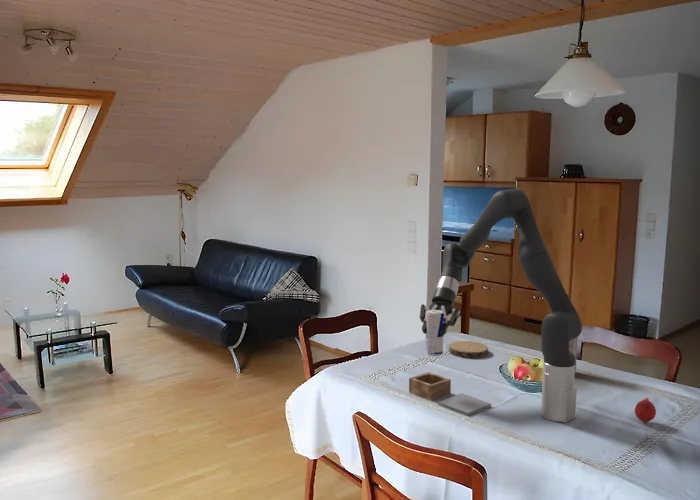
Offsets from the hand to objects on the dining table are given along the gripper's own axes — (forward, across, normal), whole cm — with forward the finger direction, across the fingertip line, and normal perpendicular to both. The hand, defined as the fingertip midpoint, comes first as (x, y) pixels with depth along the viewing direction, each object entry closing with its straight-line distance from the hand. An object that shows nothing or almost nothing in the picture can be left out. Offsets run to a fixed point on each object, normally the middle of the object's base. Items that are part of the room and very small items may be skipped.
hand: (432, 333), depth 203 cm
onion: (+8, +64, +24) cm, 69 cm away
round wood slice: (-23, -5, +54) cm, 59 cm away
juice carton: (-18, +35, +49) cm, 63 cm away
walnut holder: (+14, -2, +17) cm, 22 cm away
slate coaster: (+17, +12, +13) cm, 25 cm away
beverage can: (+4, 0, +7) cm, 8 cm away
